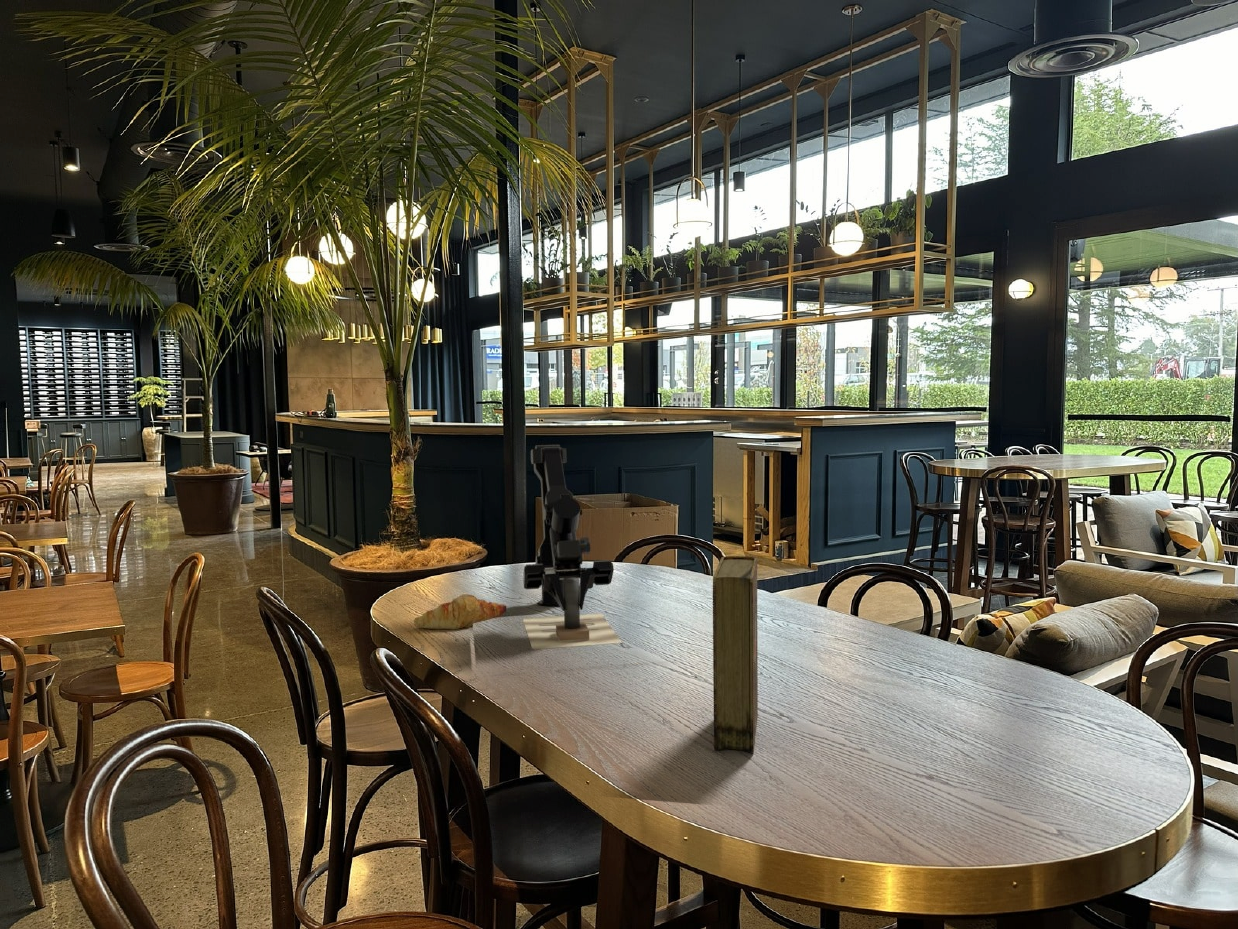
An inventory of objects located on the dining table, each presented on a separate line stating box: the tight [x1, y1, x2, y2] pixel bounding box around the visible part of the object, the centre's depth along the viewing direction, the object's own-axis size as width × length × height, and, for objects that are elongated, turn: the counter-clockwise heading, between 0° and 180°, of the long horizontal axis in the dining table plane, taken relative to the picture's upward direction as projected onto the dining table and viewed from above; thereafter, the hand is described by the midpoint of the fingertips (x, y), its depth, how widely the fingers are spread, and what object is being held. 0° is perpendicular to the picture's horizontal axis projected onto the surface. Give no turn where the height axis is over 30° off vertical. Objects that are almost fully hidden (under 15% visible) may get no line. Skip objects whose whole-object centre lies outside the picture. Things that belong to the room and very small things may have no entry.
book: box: [712, 555, 759, 754], centre depth 124 cm, size 16×6×25 cm, turn 168°
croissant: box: [413, 593, 508, 630], centre depth 189 cm, size 21×10×8 cm, turn 117°
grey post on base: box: [556, 578, 589, 642], centre depth 173 cm, size 7×6×12 cm
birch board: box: [522, 613, 623, 650], centre depth 179 cm, size 24×18×1 cm
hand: (572, 609), depth 172 cm, fingers open, 3 cm apart
